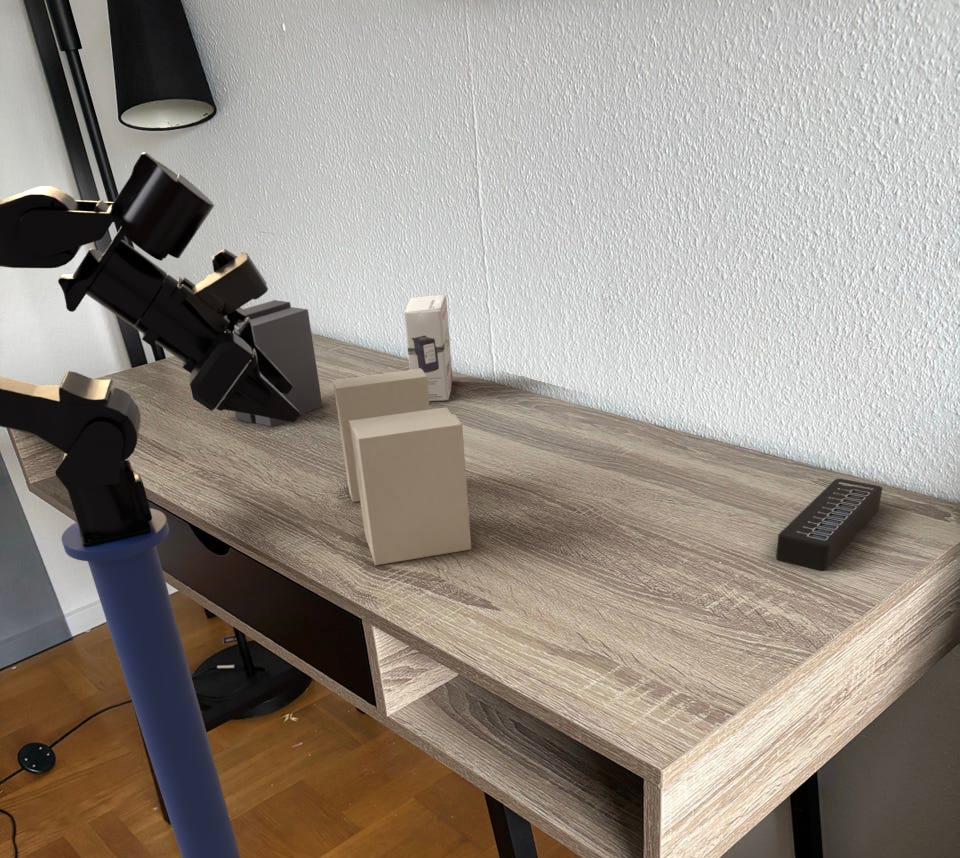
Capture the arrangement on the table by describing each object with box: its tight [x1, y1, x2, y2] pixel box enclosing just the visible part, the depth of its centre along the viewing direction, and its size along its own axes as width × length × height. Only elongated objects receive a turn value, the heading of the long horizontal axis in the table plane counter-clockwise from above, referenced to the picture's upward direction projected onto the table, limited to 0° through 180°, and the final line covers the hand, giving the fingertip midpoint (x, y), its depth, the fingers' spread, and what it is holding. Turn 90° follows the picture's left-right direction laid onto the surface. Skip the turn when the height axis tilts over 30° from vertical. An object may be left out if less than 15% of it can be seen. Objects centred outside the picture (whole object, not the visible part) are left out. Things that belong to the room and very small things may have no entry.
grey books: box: [234, 299, 324, 427], centre depth 121 cm, size 10×6×13 cm
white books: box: [349, 406, 472, 566], centre depth 86 cm, size 9×6×12 cm
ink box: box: [403, 294, 454, 402], centre depth 125 cm, size 8×5×12 cm, turn 178°
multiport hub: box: [775, 478, 883, 571], centre depth 85 cm, size 4×14×2 cm, turn 143°
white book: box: [332, 369, 431, 503], centre depth 97 cm, size 9×3×12 cm, turn 104°
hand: (293, 403), depth 93 cm, fingers open, 9 cm apart
